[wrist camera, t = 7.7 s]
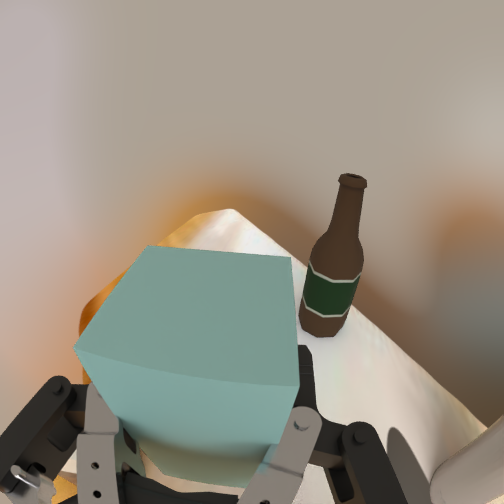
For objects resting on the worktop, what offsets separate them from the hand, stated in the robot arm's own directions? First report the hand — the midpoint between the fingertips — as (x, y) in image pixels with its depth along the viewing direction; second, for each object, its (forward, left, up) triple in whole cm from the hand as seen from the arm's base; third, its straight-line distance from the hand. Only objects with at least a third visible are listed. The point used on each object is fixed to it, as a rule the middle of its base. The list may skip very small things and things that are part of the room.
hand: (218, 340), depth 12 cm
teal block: (+1, +2, -7) cm, 7 cm away
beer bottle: (-20, -20, -22) cm, 35 cm away
